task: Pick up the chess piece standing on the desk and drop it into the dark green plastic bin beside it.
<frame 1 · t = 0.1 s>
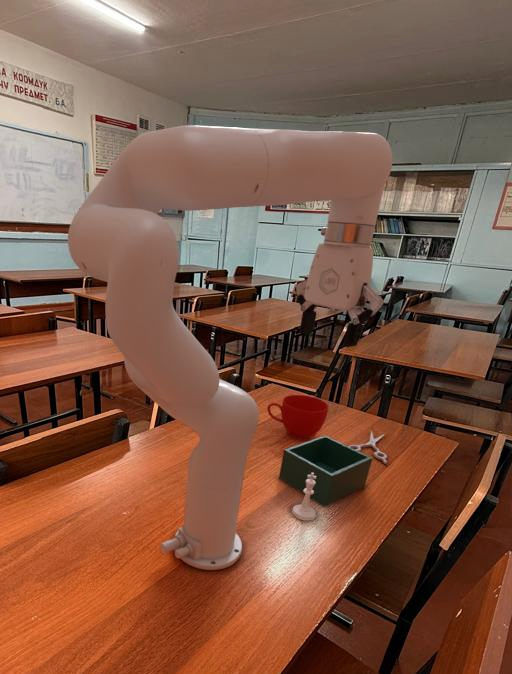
hand: (327, 339, 79), 37 cm above the table, tool pointing down, fingers open, 9 cm apart
chess piece: (303, 514, 93), on the table
ceramic cup: (292, 434, 129), on the table
scissors: (372, 445, 126), on the table
bin: (321, 482, 105), on the table
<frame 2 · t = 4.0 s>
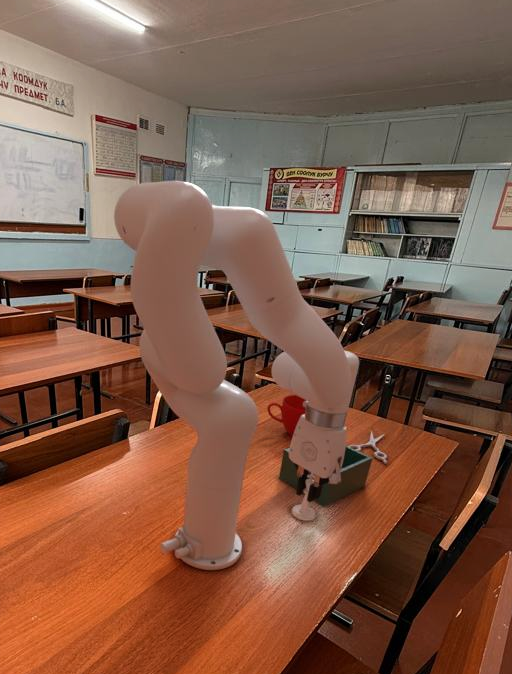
hand: (307, 495, 90), 5 cm above the table, tool pointing down, fingers closed on chess piece
chess piece: (303, 514, 93), on the table, touching gripper
everything else where it was.
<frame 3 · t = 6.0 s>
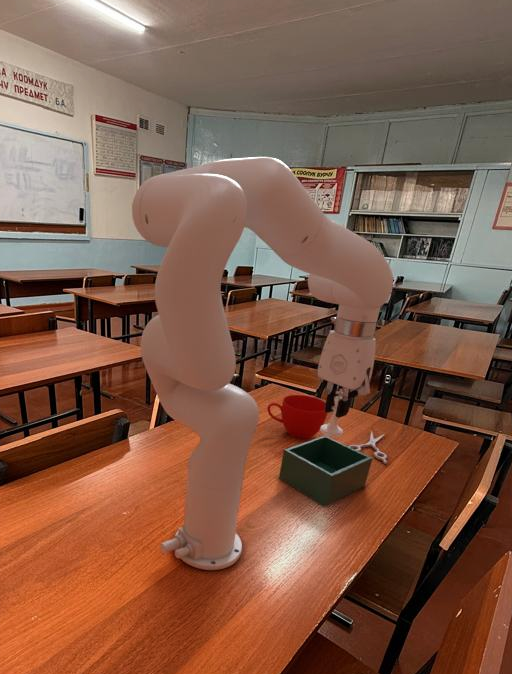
hand: (335, 413, 93), 19 cm above the table, tool pointing down, fingers closed on chess piece
chess piece: (331, 432, 95), point 15 cm above the table, touching gripper
everything else where it was.
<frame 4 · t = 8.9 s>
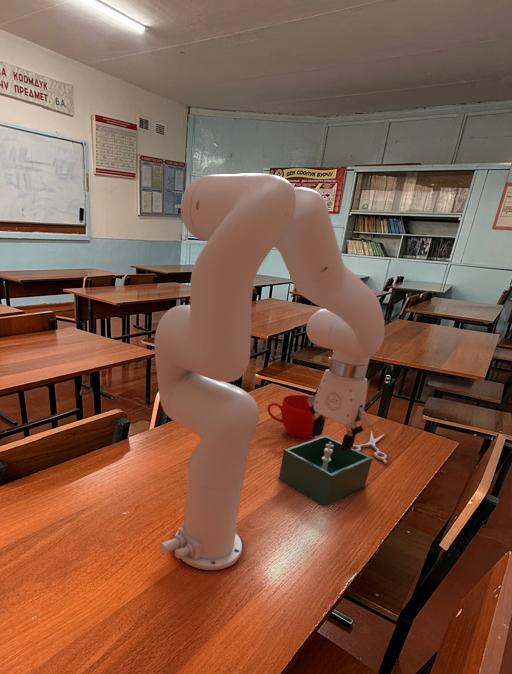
hand: (330, 441, 100), 11 cm above the table, tool pointing down, fingers open, 7 cm apart
chess piece: (321, 480, 104), point 1 cm above the table, touching bin
everything else where it was.
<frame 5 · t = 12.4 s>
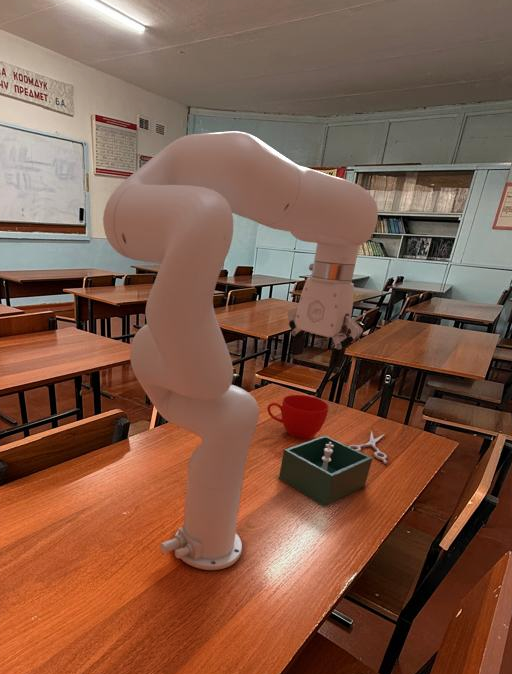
hand: (315, 360, 89), 30 cm above the table, tool pointing down, fingers open, 9 cm apart
nothing on the table moved.
at the end: chess piece inside the target area in the bin (0.2 cm from its centre), point 0.6 cm above the bin's base; the gripper is holding nothing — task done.
